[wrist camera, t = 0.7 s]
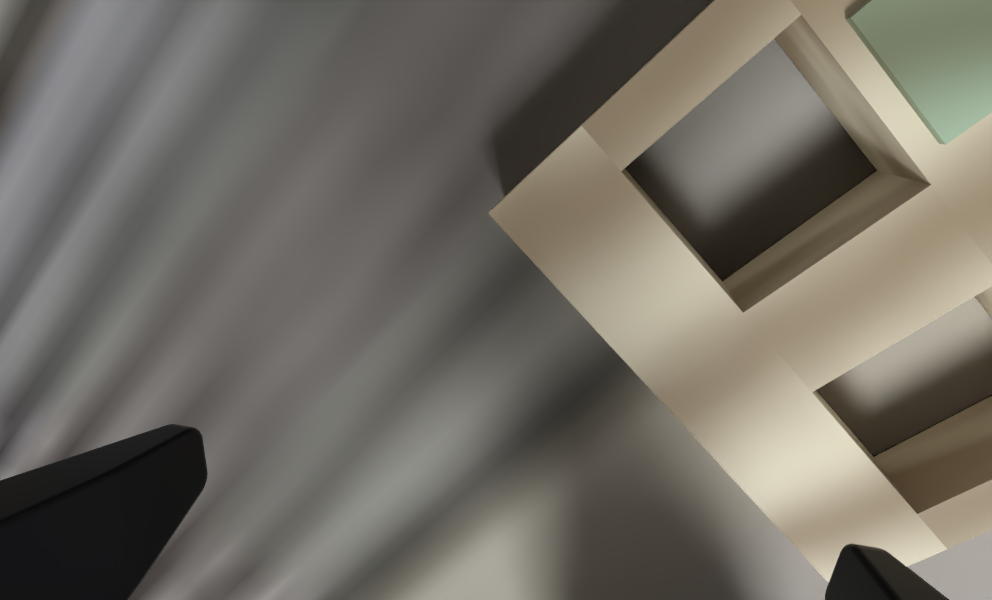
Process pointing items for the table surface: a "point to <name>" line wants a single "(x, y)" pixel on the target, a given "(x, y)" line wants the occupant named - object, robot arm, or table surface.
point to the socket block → (797, 264)
